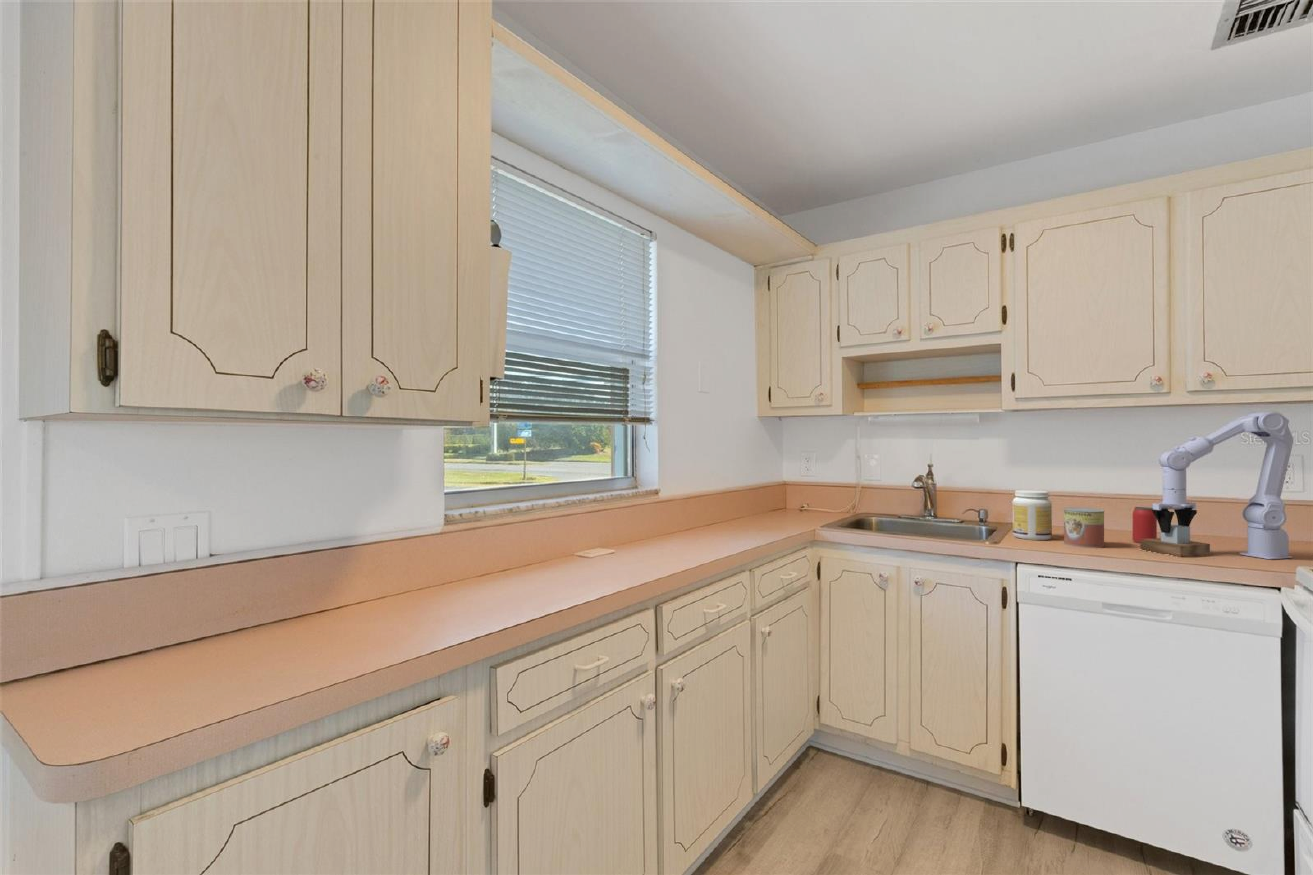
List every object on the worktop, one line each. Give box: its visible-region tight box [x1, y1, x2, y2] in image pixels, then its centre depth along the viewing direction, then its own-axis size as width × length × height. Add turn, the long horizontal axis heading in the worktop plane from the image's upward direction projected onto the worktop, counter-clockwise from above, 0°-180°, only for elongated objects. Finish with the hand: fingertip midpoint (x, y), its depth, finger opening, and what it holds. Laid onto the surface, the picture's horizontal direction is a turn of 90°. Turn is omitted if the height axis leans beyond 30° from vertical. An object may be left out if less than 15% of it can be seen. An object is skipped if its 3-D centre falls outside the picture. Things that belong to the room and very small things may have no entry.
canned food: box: [1063, 507, 1105, 549], centre depth 207 cm, size 11×11×12 cm
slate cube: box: [1160, 524, 1191, 543], centre depth 193 cm, size 5×5×5 cm
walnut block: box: [1139, 537, 1211, 558], centre depth 193 cm, size 12×12×4 cm
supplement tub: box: [1011, 489, 1053, 541], centre depth 221 cm, size 12×12×17 cm
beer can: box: [1132, 506, 1158, 544], centre depth 211 cm, size 7×7×12 cm
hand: (1174, 532), depth 193 cm, fingers open, 6 cm apart
